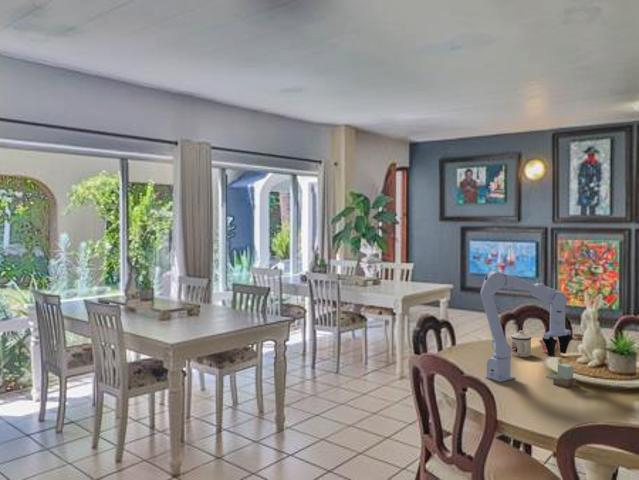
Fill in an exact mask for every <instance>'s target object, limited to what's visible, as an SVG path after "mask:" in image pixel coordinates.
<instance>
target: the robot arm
mask: <svg viewBox="0 0 639 480" xmlns="http://www.w3.org/2000/svg"><path fill="white" fill-rule="evenodd" d="M504 286H506V287H507V286H515V287H518V288H521V289H523V290H526V291H529V292H530V294H531V295H532V297H534V298H537V299H539V300H541V301H544V302H546V303H549V331H547V332H545V333H543V337H542V339H541V340H543V341H544V343H545V345H546V348H547V352H546V353H547V355H548V356H550V357H554V356H555V355H554V353H555V345H556V342H557V340H554V339H553V337H556V338H557V339H558V341H559V348H560V354H566V353H567V351H568V347H569V344H570V342H571V340H572V339H573V336H572V335H571V334H572V333H571V332H572V331H571V330H570V329H566V305H567V304H568V299H567V295H566V294H564V293H563V292H561V291H559V290H558V289H556V288H551V287H548V286H547V285H545V283H543V282H541V283H539V282H537V283H533V284H532V283H531V282H529V281H526V280H524V279H522V278H519V277H517V276H515V275H513V274H510V273H507V272H502V271H499V270H490V271H489V272H487V274H486V275H485V276H484V278H483V283H482V285H481V289H480V293H479V294H480V297H481V301H482V304H483V308H484V312H485V315H486V319H487V322H488V327H489V330H490V332H491V338H492V339H491V340H492V343H491V346H492V349H493V353H491V354H492V356H491V358H489V359H487V362H486V375H484V377H485V378H487V379H489V380H492V381H496V382H499V383H501V382H505V381H509V380H513V379H516V376H513V375H512V373H511V371H512V368H511V367H512V364H511V362H512V360H511V359H512V358H511V357H512V346H511V345H510V344H509V343H508V342H507V338H506V336H505V334H504V330H503V326H502V323H501V319H500V316H499V312H498V309H497V305H496V302H495V298H494V296H495V294H496V293H497V291H498V290H499V289H501V288H502V287H504Z"/></svg>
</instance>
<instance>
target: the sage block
mask: <svg viewBox="0 0 639 480" xmlns="http://www.w3.org/2000/svg"><path fill="white" fill-rule="evenodd" d="M557 375H558V376H557V377H558V378H561V379H565V380H569V379H573V378H574V365H571V364H567V363H559V364H557Z"/></svg>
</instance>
